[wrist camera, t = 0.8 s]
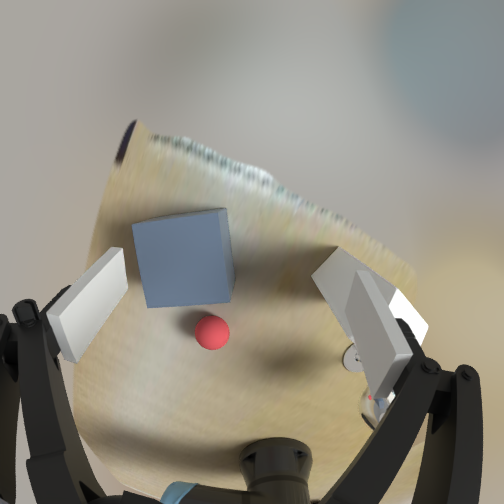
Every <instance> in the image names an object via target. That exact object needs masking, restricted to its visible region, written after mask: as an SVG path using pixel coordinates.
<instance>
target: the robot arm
mask: <svg viewBox="0 0 504 504" xmlns="http://www.w3.org/2000/svg"><path fill="white" fill-rule="evenodd" d="M127 290H128V284H127V277H126V270H125V262H124V254H123V248H118V247H111V248H110V249H109V250H108V251H107V252H106V253H104V254H103V255H102V256H101V257H100V258H99V259H98V260H97V261H96V262H95V263H94V264H93V265H92V266H91V267H90V268H89V269H88V270H87V271H86V272H85V273H84V274H83V275H82V276H81V277H80V278H79V279H78V280H77V281H76V282H75V283H74V284H73V285H69V286H67V287H65V288H63V289H62V290H61V291H60V292H59V293H58V294H57V295H56V296H55V297H54V298H53V299H52V301H50V302H49V303H48V304H47V305H46V306H45V307H44V308H43V310H42V311H41V312H40V313H39V310H38V307H37V304H36V301H34V300H32V299H25V300H22V301H20V302H18V303H17V304H15V306H14V307H13V309H12V312H13V315H14V317H15V320H16V322H17V323H9V321H8V318H7V316H6V315H4V314H0V504H15V499H16V475H15V457H16V434H17V421H18V411H19V403H20V396H21V404H22V412H23V418H24V425H25V430H26V435H27V441H28V446H29V450H30V456H31V457H30V459H27V460H26V467H27V472H28V475H29V479H30V482H31V486H32V490H33V493H34V496H35V499H36V502H37V504H311V502H310V496H309V490H308V483H307V482H308V478H309V474H310V471H311V467H312V461H313V460H312V454H311V450H310V448H309V447H308V446H307V445H306V444H304V443H302V442H300V441H297V440H294V439H288V438H271V439H265V440H261V441H258V442H255V443H253V444H251V445H249V446H248V447H246V448H245V449H244V450H243V451H242V453H241V455H240V470H241V472H242V475H243V477H244V480H245V482H246V485H247V491H241V490H233V489H225V488H217V487H211V486H205V485H200V484H198V483H187V482H181V481H177V482H173V483H171V484H170V485H169V486H168V487H167V489H166V490H165V492H164V494H163V495H162V497H161V500H160V502H159V501H157V500H155V499H152V498H149V497H145V496H141V495H138V494H134V493H131V492H128V491H124V492H123V495H113V496H106V494H105V493H104V491H103V489H102V488H101V486H100V485H99V483H98V482H97V480H96V478H95V476H94V474H93V471H92V469H91V467H90V464H89V462H88V459H87V456H86V454H85V451H84V448H83V446H82V443H81V440H80V437H79V434H78V431H77V428H76V425H75V422H74V419H73V415H72V412H71V409H70V405H69V401H68V397H67V394H66V390H65V386H64V381H63V377H62V372H61V368H60V363H59V359H58V357H57V355H58V354H59V352H60V351H61V353H62V355H63V357H64V359H65V360H67V361H70V362H73V363H76V364H77V363H78V361H79V360H80V358H81V357H82V355H83V354H84V352H85V351H86V349H87V347H88V346H89V344H90V343H91V341H92V340H93V338H94V337H95V335H96V334H97V332H98V331H99V330H100V328H101V327H102V325H103V324H104V322H105V321H106V319H107V318H108V316H109V315H110V314H111V312H112V311H113V309H114V308H115V307H116V305H117V304H118V302H119V301H120V300H121V298H122V297H123V295H124V294H125V293H126V291H127ZM345 314H346V316H347V319H348V322H349V325H350V328H351V331H352V334H353V337H354V340H355V343H356V347H357V350H358V353H359V356H360V359H361V362H362V366H363V369H364V372H365V376H366V379H367V382H368V386H369V389H370V393H371V396H372V399H379V398H388V396H389V395H390V393H391V391H392V390H393V391H394V394H395V397H394V399H393V400H392V402H391V403H390V405H389V406H388V408H387V409H386V412H385V414H384V415H383V417H382V419H381V420H380V422H379V424H378V425H377V427H376V428H375V430H374V431H373V433H372V434H371V436H370V437H369V439H368V440H367V442H366V443H365V445H364V446H363V448H362V449H361V450H360V452H359V453H358V455H357V456H356V457H355V459H354V460H353V461H352V463H351V464H350V465H349V467H348V468H347V469H346V471H345V472H344V473H343V474H342V476H341V477H340V478H339V479H338V481H337V482H336V483H335V484H334V486H333V487H332V488H331V489H330V490H329V491H328V493H327V494H326V495H325V496H324V497H323V498H322V499H321V501H320V502H319V503H318V504H378V503H379V502H380V500H381V499H382V497H383V496H384V494H385V493H386V491H387V490H388V488H389V486H390V485H391V483H392V481H393V480H394V478H395V476H396V475H397V473H398V471H399V469H400V468H401V466H402V464H403V462H404V460H405V458H406V456H407V455H408V453H409V451H410V449H411V447H412V445H413V443H414V441H415V438H416V436H417V434H418V432H419V430H420V428H421V426H422V423H423V421H424V419H425V416H426V414H427V413H429V418H428V425H427V432H426V439H425V445H424V451H423V457H422V462H421V467H420V471H419V476H418V480H417V484H416V488H415V492H414V496H413V500H412V503H411V504H478V502H479V495H480V486H481V476H482V461H483V416H482V399H481V387H480V378H479V375H478V373H477V371H476V370H475V369H474V368H473V367H471V366H469V365H464V364H463V365H460V366H458V368H457V369H456V370H455V372H450V371H445V370H442V369H441V367H440V365H439V364H438V363H437V362H436V361H435V360H433V359H431V358H428V357H426V356H425V354H424V352H423V350H422V348H421V347H420V345H419V343H418V341H417V339H415V338H416V337H415V335H414V334H413V333H412V330H411V328H410V326H409V325H408V324H407V323H406V322H405V321H404V320H403V319H402V318H394V316H393V314H392V312H391V310H390V308H389V306H388V305H387V303H386V301H385V299H384V297H383V296H382V294H381V292H380V290H379V289H378V287H377V285H376V283H375V282H374V280H373V278H372V276H371V275H370V273H369V271H361V270H356V272H355V276H354V279H353V283H352V287H351V290H350V294H349V297H348V301H347V304H346V307H345Z"/></svg>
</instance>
